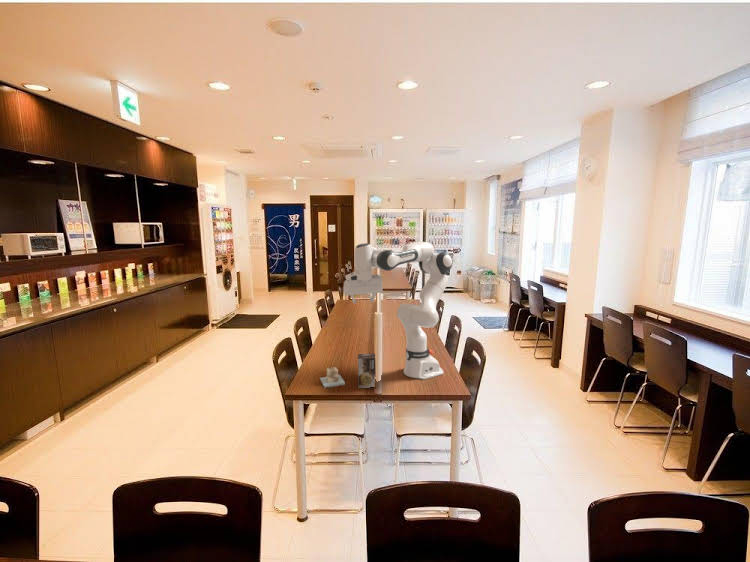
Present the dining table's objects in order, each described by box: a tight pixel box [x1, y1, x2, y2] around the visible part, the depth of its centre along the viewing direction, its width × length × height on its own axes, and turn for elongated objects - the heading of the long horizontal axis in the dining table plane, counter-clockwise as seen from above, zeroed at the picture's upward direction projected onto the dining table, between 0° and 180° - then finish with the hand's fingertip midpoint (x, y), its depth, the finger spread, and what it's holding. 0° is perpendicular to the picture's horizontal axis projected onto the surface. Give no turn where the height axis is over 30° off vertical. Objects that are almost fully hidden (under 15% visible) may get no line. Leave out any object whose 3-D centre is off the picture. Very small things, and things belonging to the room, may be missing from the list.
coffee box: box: [357, 353, 377, 389], centre depth 181 cm, size 9×6×16 cm
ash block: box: [326, 366, 339, 383], centre depth 186 cm, size 5×5×6 cm
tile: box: [319, 374, 346, 389], centre depth 186 cm, size 11×11×1 cm
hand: (363, 302), depth 181 cm, fingers open, 8 cm apart
